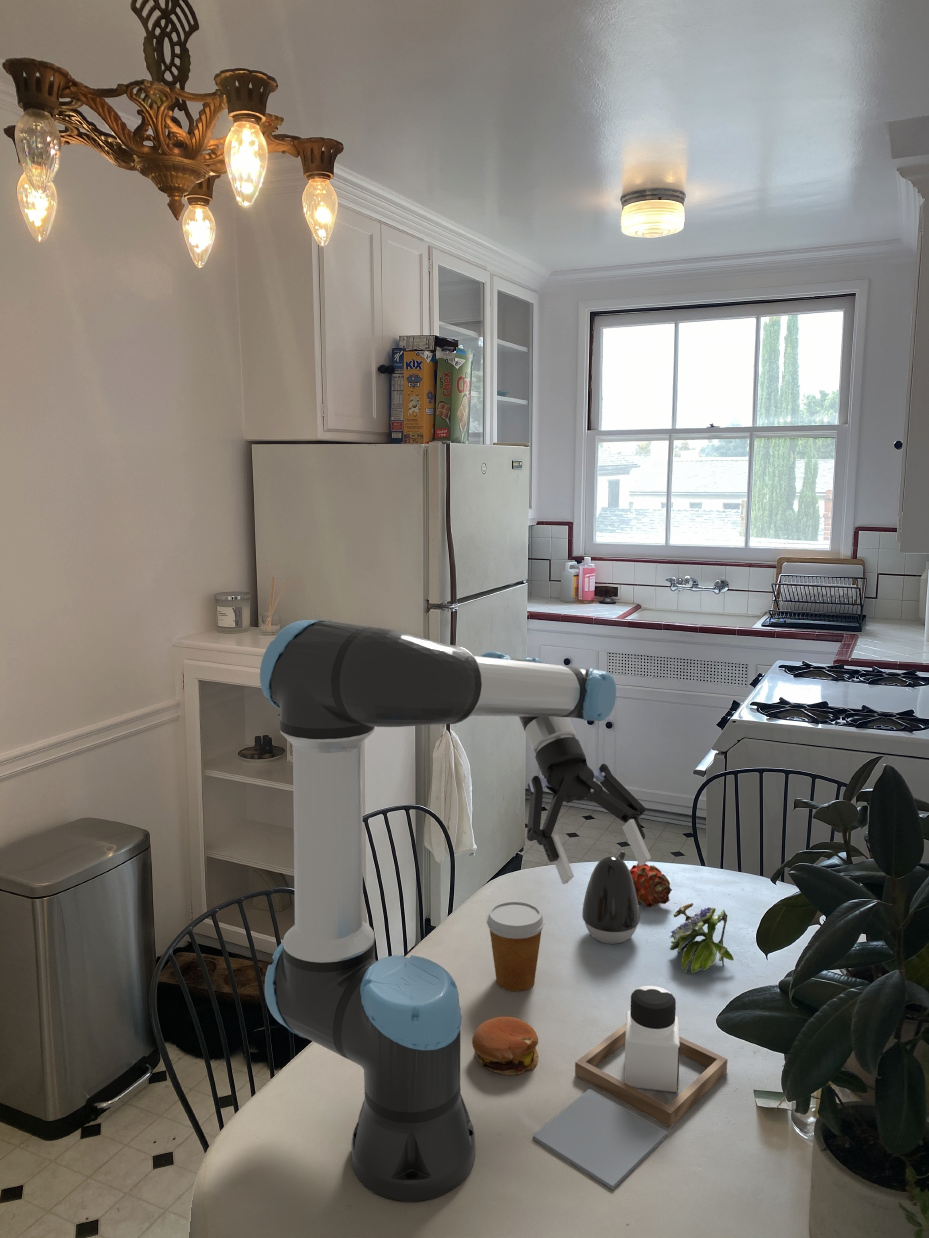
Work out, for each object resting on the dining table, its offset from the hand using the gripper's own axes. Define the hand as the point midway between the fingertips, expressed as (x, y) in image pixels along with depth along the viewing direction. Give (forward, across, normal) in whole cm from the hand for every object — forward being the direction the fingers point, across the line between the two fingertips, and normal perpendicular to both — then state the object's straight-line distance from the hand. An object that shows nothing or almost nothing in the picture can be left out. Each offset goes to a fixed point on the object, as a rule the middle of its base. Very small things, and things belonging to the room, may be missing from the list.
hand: (607, 871), depth 134 cm
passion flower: (+12, -25, -23) cm, 36 cm away
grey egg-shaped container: (+3, -15, -32) cm, 36 cm away
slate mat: (+31, +15, -2) cm, 35 cm away
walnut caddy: (+26, +2, -7) cm, 28 cm away
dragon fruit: (-3, -28, -38) cm, 47 cm away
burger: (+18, +18, -16) cm, 30 cm away
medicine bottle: (+27, +2, -8) cm, 28 cm away
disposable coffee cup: (+6, +8, -28) cm, 30 cm away
